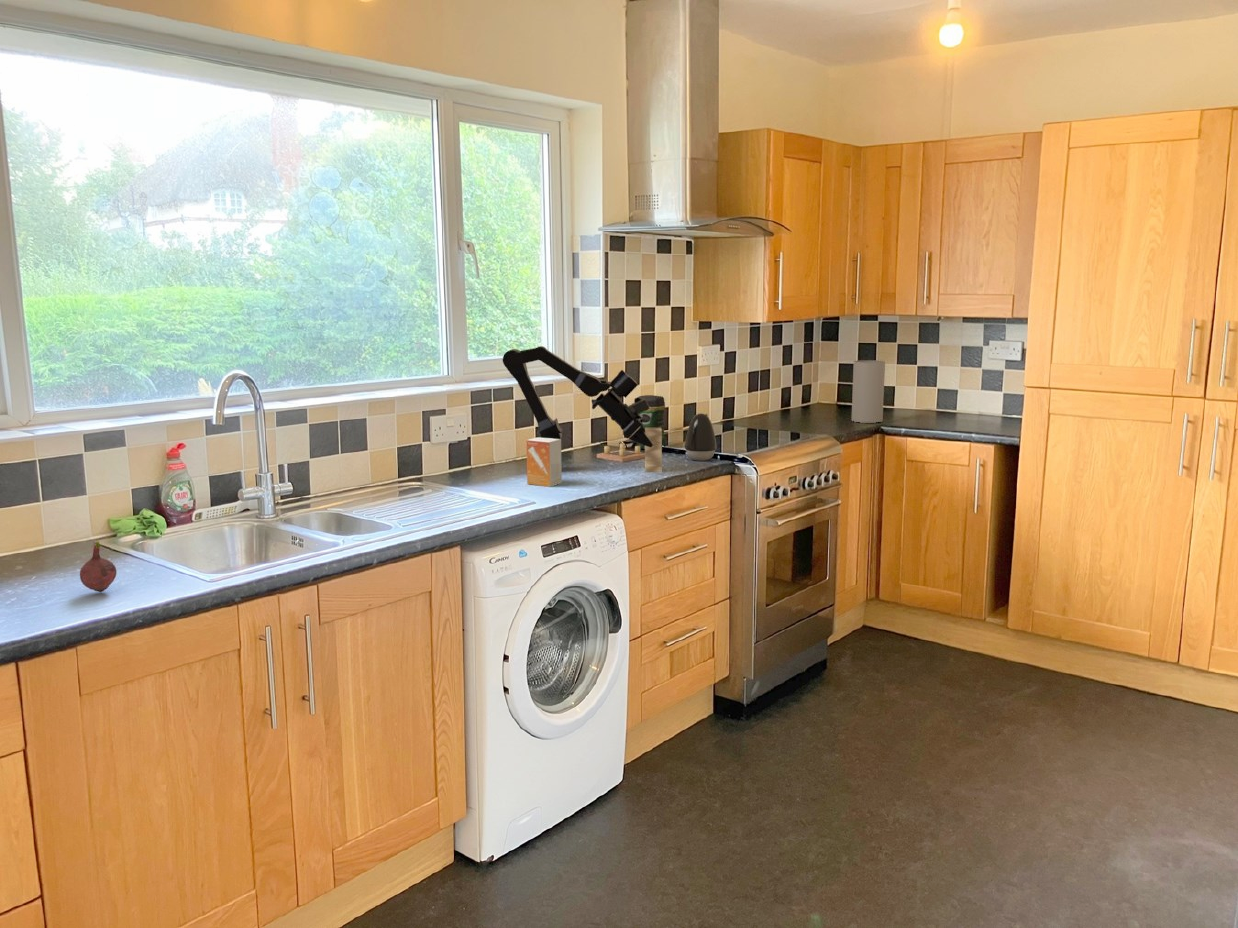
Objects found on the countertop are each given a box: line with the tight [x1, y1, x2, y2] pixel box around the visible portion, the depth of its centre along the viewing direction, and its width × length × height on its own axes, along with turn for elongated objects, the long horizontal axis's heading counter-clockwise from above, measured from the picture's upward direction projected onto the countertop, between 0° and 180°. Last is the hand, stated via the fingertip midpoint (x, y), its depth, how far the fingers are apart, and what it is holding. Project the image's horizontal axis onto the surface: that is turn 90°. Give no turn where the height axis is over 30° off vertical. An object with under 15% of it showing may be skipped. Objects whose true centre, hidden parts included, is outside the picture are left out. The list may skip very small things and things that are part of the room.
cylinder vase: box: [851, 359, 886, 424], centre depth 401 cm, size 12×12×25 cm
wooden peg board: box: [596, 443, 645, 463], centre depth 322 cm, size 12×12×4 cm
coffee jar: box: [636, 394, 666, 450], centre depth 339 cm, size 10×8×19 cm
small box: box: [526, 436, 563, 488], centre depth 279 cm, size 8×6×13 cm
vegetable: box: [79, 540, 118, 593], centre depth 180 cm, size 6×6×10 cm
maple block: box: [644, 428, 663, 473], centre depth 298 cm, size 5×5×13 cm
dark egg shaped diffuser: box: [684, 412, 717, 462], centre depth 316 cm, size 10×10×15 cm
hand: (651, 443), depth 298 cm, fingers open, 9 cm apart
